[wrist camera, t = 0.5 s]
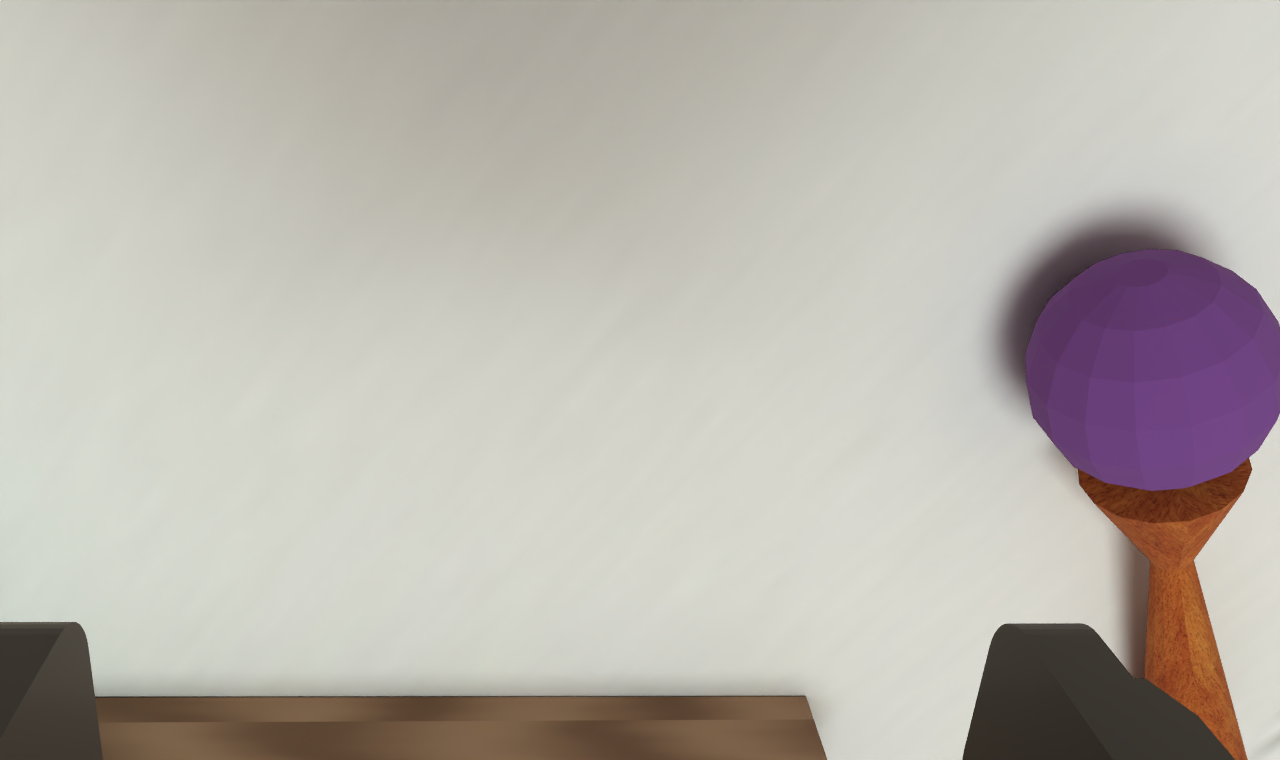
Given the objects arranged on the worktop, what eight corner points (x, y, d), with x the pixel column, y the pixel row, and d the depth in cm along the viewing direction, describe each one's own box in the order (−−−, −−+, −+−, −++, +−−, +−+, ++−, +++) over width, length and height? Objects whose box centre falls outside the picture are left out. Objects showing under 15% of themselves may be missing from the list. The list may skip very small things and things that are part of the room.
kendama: (1128, 868, 36) (1042, 376, 25) (1077, 712, 41) (986, 245, 30) (1332, 839, 34) (1334, 306, 24) (1254, 682, 39) (1226, 181, 28)
